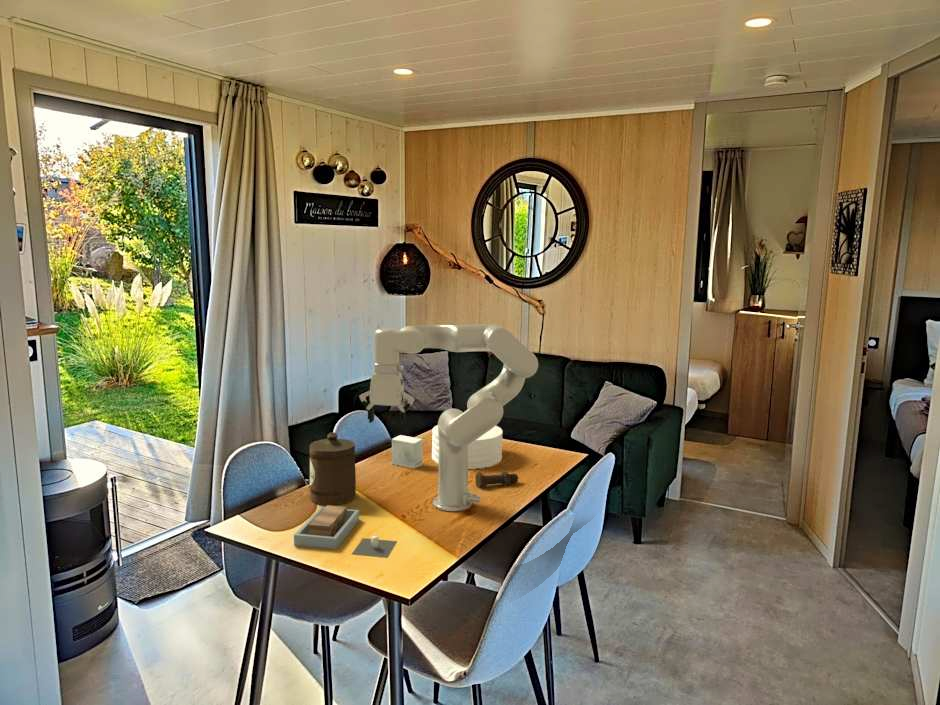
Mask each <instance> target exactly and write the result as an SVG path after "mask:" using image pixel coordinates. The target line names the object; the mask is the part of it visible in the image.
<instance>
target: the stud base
mask: <svg viewBox="0 0 940 705" xmlns="http://www.w3.org/2000/svg"><path fill="white" fill-rule="evenodd" d="M397 543H398V541H397V540H389V539H387V540H386V539H379V536H378V535H373V536H371V537H370V538H364V537H363V538H362V539H361V540H360V541H359V543H358V545H357V546H356V547H355V548H354V550H353V552H352V553H351V555H354V556H365V557H373V558H374V557H375V558H386V559H388V557H389V556H390V555H391V553H392V551H393V549H394V547H395V546H396V545H397Z"/></svg>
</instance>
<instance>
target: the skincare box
mask: <svg viewBox="0 0 940 705" xmlns="http://www.w3.org/2000/svg"><path fill="white" fill-rule="evenodd" d="M423 446H424V440H423V438H419V437H413V436H407V435H403V434H400V435H397V436H395V437H393V438H391V465H392V464H394V465H393V466H397V465H399V466H398V467H401V466H404V467H403V468H406V467H408V468H407V469H411V468H413V469H412V470H415V468H416V469H418V468H419V467H422V466H423V456H424V454H423V451H424V450H423ZM417 467H418V468H417Z"/></svg>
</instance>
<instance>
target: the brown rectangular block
mask: <svg viewBox="0 0 940 705" xmlns="http://www.w3.org/2000/svg"><path fill="white" fill-rule="evenodd" d="M324 507H325V508H324V509H323V510H322V511H321V512H320V513H319V514H318V516H317V517H316V518H315V519H314V520H313V521H312V522H311V523H310V524H309V535H318V536H329V537H334V536H335V535H336V534H337V532H338V531H339V530H340V529H341V528H342V526H343V525H344V524H345V523H346V521H347V509H348V508H347V507H348V506H341V505H325V506H324Z"/></svg>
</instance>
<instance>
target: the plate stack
mask: <svg viewBox="0 0 940 705" xmlns="http://www.w3.org/2000/svg"><path fill="white" fill-rule="evenodd" d="M431 433H432V435H431V440H432V441H431V446H432V447H431V460H432V461H433V460H434V461H435V462H434V461H433V462H434V463H436V464H438V465H439V438H438V424H437V425H434V427H433V428H432V430H431ZM503 434H504V433H503V429H502V428H501V427H500V426H498V425H496V426H495V427H493V428H492V429H491V430H489V431H488V432H486V433H485V434H484V435H482V436H481V437H479V438H478V439H476V440H475V441H474V442H472V443H470V444H469V445H468V470H477V469H476V468H480V469H486V468H485V467H487V468H491V467H494V466H496V465H498V464H500V463H501V462H502V460H503V459H502V458H503V456H502V454H503ZM501 459H502V460H501ZM500 461H501V462H500ZM499 462H500V463H499ZM497 463H498V464H497ZM495 464H496V465H495ZM493 465H494V466H493ZM490 466H491V467H490Z"/></svg>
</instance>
